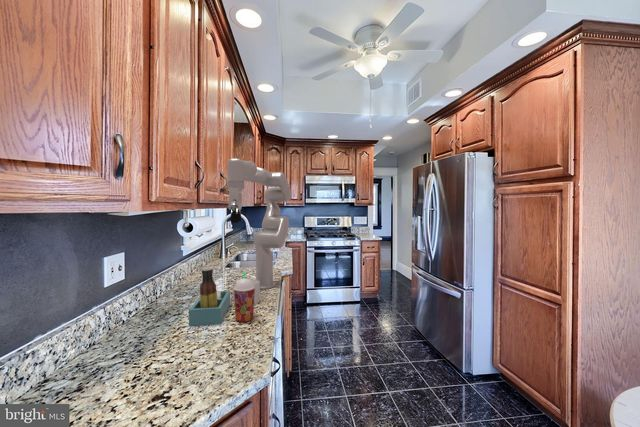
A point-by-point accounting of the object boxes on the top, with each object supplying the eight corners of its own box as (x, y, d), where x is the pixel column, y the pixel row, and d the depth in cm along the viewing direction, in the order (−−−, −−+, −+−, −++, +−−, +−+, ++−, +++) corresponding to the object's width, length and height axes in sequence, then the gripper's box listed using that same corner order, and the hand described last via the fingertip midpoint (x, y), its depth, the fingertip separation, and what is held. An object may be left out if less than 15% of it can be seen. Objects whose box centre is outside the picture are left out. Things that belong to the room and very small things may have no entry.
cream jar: (209, 307, 121) (209, 291, 120) (221, 306, 122) (221, 291, 121) (206, 311, 116) (206, 295, 115) (219, 311, 116) (219, 294, 116)
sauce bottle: (218, 314, 113) (218, 266, 112) (217, 320, 107) (216, 270, 106) (201, 316, 111) (200, 267, 110) (198, 322, 105) (198, 271, 104)
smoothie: (254, 315, 114) (254, 268, 113) (256, 324, 106) (256, 273, 105) (233, 318, 111) (232, 269, 111) (233, 327, 103) (233, 274, 103)
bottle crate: (204, 307, 123) (203, 292, 123) (230, 305, 125) (230, 290, 125) (189, 328, 102) (188, 310, 102) (220, 326, 104) (220, 308, 104)
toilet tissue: (261, 306, 125) (261, 284, 125) (233, 309, 121) (233, 287, 121) (258, 298, 135) (258, 278, 135) (232, 301, 131) (232, 280, 131)
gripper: (230, 186, 136) (230, 221, 136) (224, 184, 119) (224, 223, 119) (246, 187, 137) (246, 221, 138) (241, 184, 120) (242, 223, 121)
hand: (236, 222), depth 129 cm, fingers open, 9 cm apart
